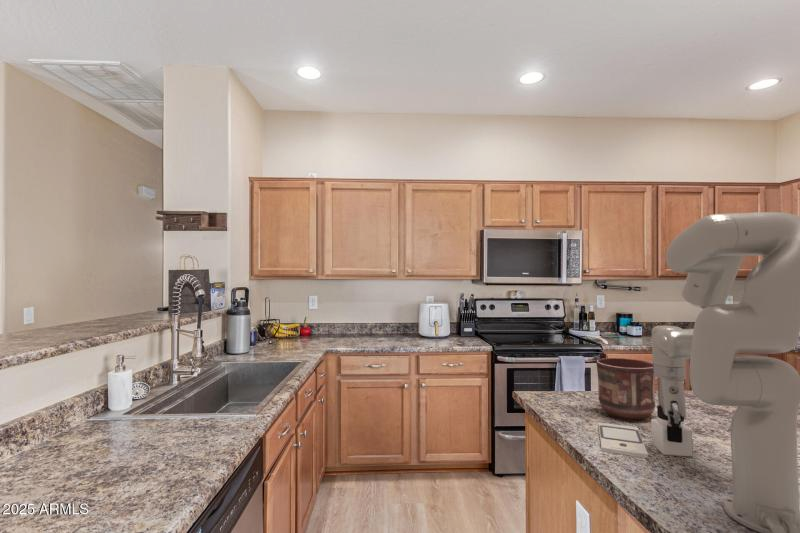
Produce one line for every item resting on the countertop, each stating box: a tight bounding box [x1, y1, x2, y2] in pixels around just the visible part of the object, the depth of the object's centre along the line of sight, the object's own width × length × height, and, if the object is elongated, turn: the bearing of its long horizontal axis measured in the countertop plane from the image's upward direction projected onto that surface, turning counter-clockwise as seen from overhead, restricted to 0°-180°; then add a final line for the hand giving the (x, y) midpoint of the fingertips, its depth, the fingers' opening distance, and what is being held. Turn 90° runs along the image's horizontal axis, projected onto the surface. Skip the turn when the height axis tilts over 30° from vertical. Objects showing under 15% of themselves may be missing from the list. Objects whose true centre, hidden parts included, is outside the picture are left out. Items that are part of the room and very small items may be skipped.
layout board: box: [597, 422, 649, 459], centre depth 113 cm, size 20×11×1 cm, turn 156°
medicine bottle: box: [650, 404, 694, 457], centre depth 107 cm, size 7×7×12 cm
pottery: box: [595, 357, 656, 422], centre depth 134 cm, size 18×18×18 cm
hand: (671, 435), depth 107 cm, fingers closed on medicine bottle, 8 cm apart
